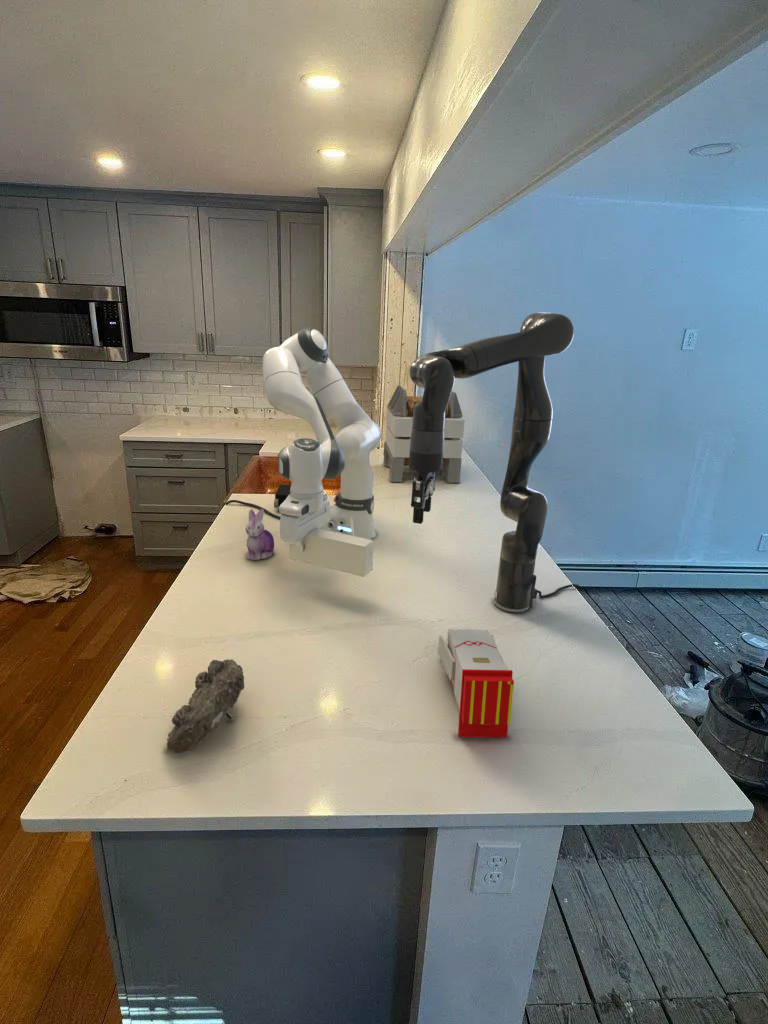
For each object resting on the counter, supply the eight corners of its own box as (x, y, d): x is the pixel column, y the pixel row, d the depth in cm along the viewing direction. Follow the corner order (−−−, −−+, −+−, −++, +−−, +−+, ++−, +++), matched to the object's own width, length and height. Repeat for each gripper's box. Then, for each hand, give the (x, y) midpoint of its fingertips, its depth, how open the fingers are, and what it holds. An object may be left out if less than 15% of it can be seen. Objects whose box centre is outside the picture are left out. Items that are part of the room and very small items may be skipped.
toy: (488, 613, 130) (523, 677, 101) (484, 667, 133) (517, 744, 104) (435, 612, 130) (455, 676, 101) (432, 666, 133) (451, 743, 103)
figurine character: (291, 517, 214) (296, 500, 227) (290, 499, 211) (295, 483, 224) (273, 516, 214) (279, 500, 227) (272, 498, 210) (278, 482, 224)
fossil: (192, 660, 117) (244, 628, 112) (224, 691, 120) (276, 661, 115) (142, 746, 98) (202, 712, 93) (182, 779, 101) (242, 748, 96)
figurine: (249, 563, 172) (248, 517, 167) (241, 550, 180) (239, 506, 175) (280, 558, 176) (279, 513, 171) (270, 546, 184) (269, 502, 179)
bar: (289, 558, 158) (288, 529, 155) (299, 552, 162) (298, 524, 159) (364, 577, 149) (364, 546, 146) (372, 570, 153) (373, 540, 150)
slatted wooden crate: (382, 463, 289) (386, 382, 275) (445, 464, 293) (451, 384, 279) (390, 482, 257) (394, 392, 243) (460, 483, 261) (468, 394, 247)
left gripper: (317, 488, 162) (317, 533, 167) (275, 508, 145) (276, 558, 150) (336, 492, 160) (335, 537, 165) (295, 513, 142) (296, 563, 147)
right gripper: (437, 457, 119) (431, 529, 124) (448, 443, 131) (443, 509, 137) (402, 453, 120) (398, 525, 126) (417, 440, 133) (413, 505, 139)
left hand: (307, 547), depth 157 cm, fingers closed on bar, 5 cm apart
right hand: (421, 516), depth 131 cm, fingers open, 8 cm apart
